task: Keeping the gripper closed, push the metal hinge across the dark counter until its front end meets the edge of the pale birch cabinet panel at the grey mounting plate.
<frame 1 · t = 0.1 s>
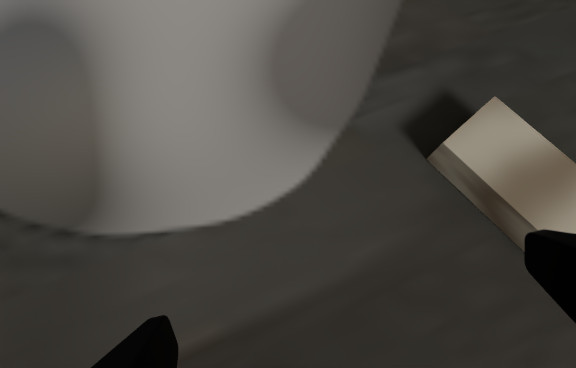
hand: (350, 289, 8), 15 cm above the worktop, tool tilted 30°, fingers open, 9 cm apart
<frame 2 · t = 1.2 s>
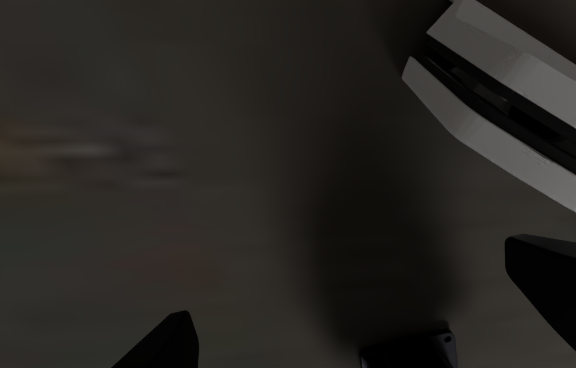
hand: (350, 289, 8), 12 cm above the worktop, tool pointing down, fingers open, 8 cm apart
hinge: (520, 123, 21), on the worktop
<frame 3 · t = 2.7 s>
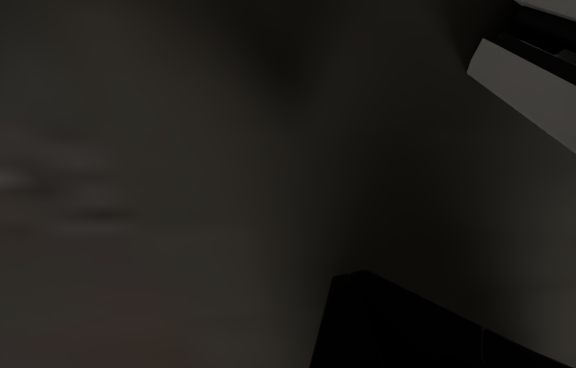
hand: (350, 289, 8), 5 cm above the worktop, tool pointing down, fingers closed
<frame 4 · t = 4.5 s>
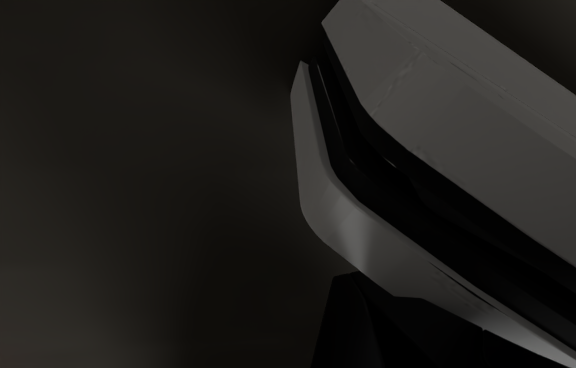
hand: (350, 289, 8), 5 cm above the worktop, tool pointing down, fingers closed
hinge: (480, 169, 14), on the worktop, touching gripper
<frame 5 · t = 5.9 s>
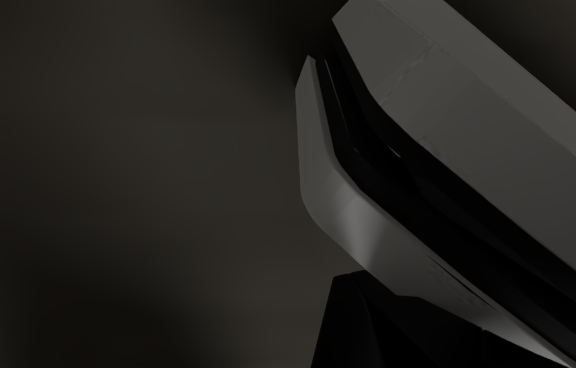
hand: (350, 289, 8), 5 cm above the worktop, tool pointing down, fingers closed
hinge: (476, 178, 14), on the worktop
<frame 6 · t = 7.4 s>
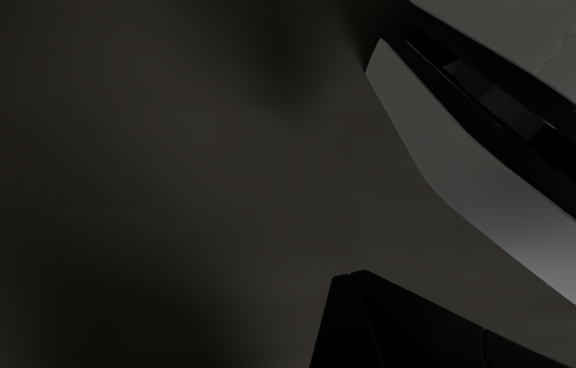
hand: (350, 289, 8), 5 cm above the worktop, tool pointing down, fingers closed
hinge: (542, 160, 14), on the worktop
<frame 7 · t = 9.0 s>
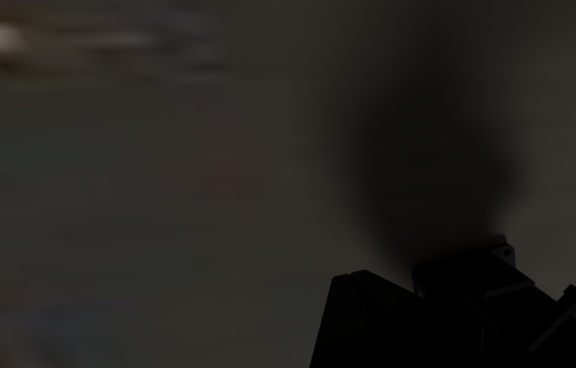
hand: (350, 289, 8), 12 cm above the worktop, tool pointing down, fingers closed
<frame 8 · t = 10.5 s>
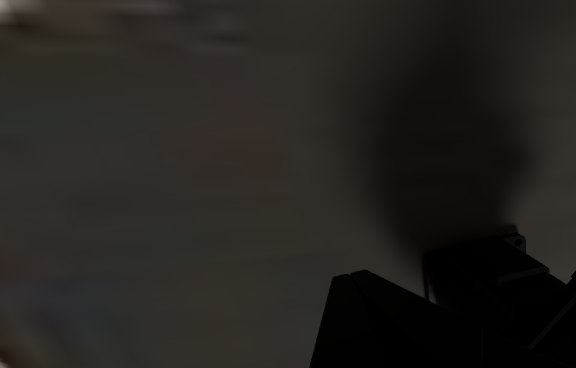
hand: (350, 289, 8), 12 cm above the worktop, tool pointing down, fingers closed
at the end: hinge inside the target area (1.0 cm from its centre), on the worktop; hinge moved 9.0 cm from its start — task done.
